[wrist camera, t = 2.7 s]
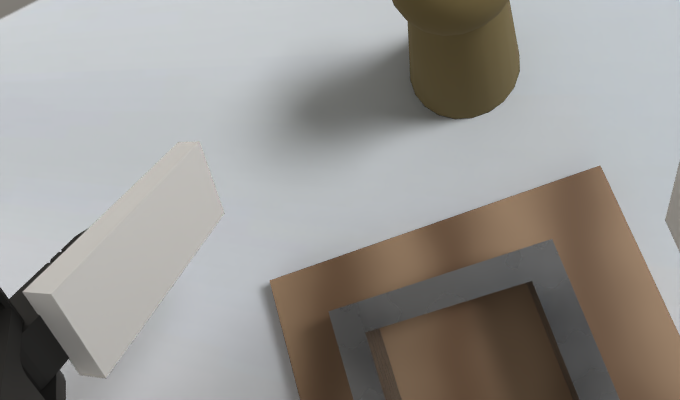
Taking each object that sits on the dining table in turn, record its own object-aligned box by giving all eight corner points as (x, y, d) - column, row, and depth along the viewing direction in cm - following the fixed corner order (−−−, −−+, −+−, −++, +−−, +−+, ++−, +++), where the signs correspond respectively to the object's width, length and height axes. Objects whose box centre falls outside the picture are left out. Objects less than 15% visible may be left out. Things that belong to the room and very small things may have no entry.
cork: (488, 136, 27) (488, 37, 17) (391, 95, 29) (337, -16, 19) (539, 38, 27) (571, -119, 17) (439, 4, 29) (413, -155, 19)
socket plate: (595, 171, 25) (616, 146, 21) (754, 515, 21) (819, 569, 17) (278, 281, 29) (243, 278, 25) (359, 591, 25) (333, 651, 21)
